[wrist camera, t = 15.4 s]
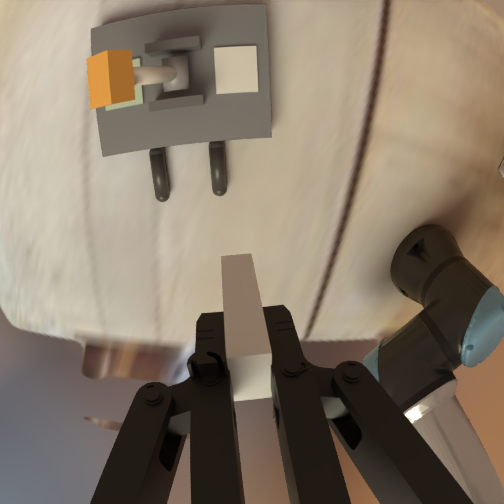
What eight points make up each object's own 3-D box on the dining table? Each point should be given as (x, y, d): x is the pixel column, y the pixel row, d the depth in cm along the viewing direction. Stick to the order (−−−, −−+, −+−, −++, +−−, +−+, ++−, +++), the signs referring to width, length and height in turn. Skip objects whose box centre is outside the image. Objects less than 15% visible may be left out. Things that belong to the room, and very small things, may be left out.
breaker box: (262, 10, 30) (271, -5, 24) (269, 189, 43) (278, 207, 37) (98, 32, 29) (78, 23, 23) (119, 204, 42) (104, 224, 36)
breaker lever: (192, 52, 29) (107, 49, 19) (195, 92, 32) (111, 104, 21) (171, 56, 30) (86, 58, 20) (174, 94, 33) (90, 109, 22)
